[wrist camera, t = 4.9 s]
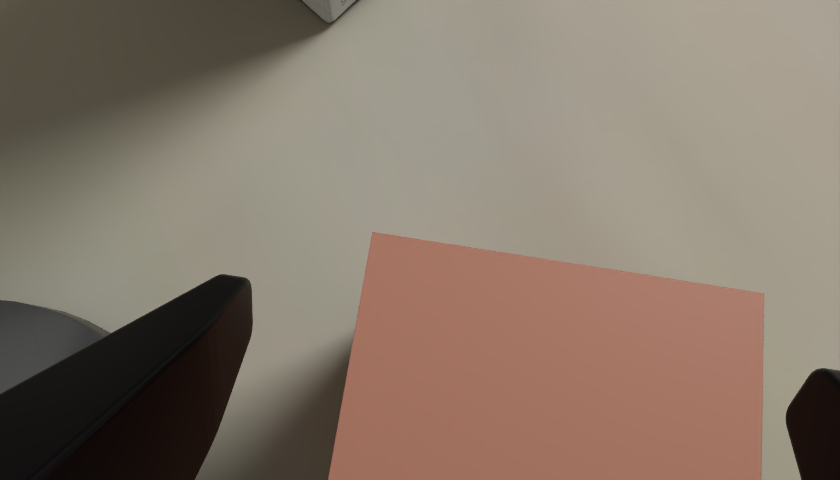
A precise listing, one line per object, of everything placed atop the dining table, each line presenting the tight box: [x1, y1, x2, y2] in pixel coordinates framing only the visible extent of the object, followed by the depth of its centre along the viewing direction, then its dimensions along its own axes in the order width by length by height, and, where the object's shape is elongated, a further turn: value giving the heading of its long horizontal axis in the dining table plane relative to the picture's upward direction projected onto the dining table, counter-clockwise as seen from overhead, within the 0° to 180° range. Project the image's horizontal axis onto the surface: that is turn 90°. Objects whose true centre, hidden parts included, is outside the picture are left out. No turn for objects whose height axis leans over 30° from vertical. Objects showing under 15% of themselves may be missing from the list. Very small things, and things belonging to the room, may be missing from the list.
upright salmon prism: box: [328, 232, 764, 480], centre depth 10 cm, size 4×4×8 cm
